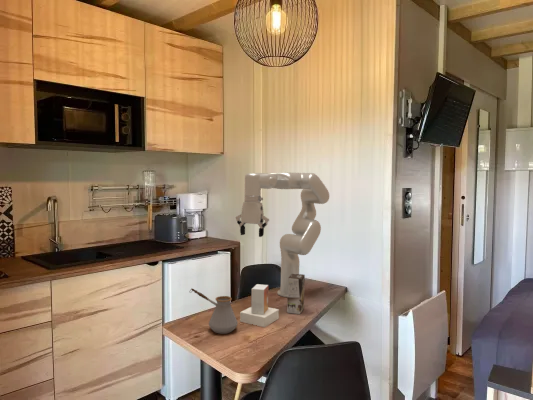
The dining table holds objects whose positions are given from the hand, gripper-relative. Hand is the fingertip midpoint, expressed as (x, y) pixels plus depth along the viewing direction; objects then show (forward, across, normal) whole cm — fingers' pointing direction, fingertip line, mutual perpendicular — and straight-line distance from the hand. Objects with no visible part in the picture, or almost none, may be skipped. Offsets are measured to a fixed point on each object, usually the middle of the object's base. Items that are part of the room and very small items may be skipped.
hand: (251, 235), depth 189 cm
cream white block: (+34, -13, +16) cm, 39 cm away
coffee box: (+34, -22, -3) cm, 40 cm away
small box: (+30, -13, +16) cm, 36 cm away
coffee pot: (+34, 0, +33) cm, 47 cm away
